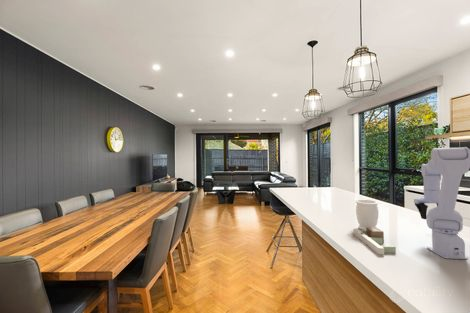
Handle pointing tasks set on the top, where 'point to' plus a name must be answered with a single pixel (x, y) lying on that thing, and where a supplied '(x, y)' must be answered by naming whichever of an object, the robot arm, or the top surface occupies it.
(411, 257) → the top surface
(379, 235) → the cardboard box
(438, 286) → the top surface
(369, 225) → the jar
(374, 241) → the rack
